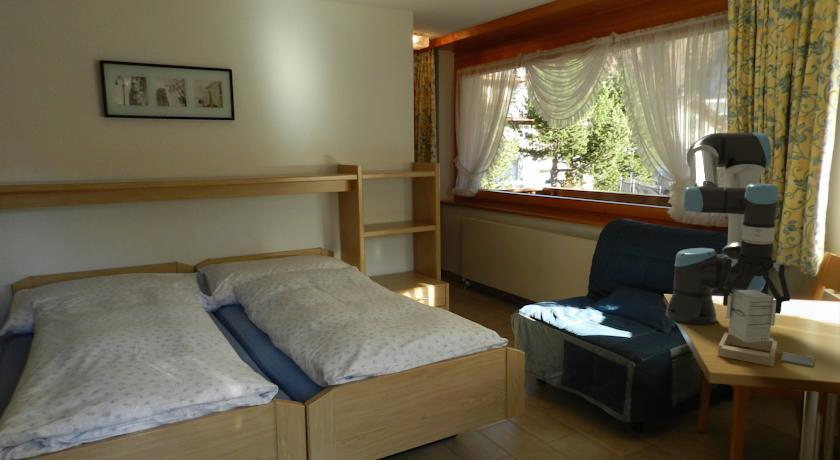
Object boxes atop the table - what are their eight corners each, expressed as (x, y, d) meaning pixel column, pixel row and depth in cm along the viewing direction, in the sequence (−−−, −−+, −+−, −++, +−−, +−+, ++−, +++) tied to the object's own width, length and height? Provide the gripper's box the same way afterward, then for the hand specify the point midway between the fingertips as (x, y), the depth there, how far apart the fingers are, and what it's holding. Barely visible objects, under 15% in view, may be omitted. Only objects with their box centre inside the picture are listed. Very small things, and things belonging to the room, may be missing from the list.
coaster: (780, 361, 151) (781, 359, 151) (782, 353, 157) (782, 351, 157) (812, 367, 147) (813, 365, 147) (813, 359, 153) (813, 357, 153)
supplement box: (727, 333, 160) (731, 290, 158) (752, 332, 160) (756, 289, 158) (744, 342, 153) (748, 297, 150) (770, 341, 153) (774, 296, 151)
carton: (716, 357, 154) (717, 347, 153) (725, 340, 167) (726, 330, 167) (772, 368, 146) (773, 357, 146) (776, 349, 160) (777, 339, 159)
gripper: (708, 239, 155) (702, 317, 159) (807, 248, 142) (798, 332, 146) (713, 235, 161) (707, 310, 165) (808, 243, 149) (799, 324, 152)
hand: (750, 320), depth 156 cm, fingers closed on supplement box, 10 cm apart
